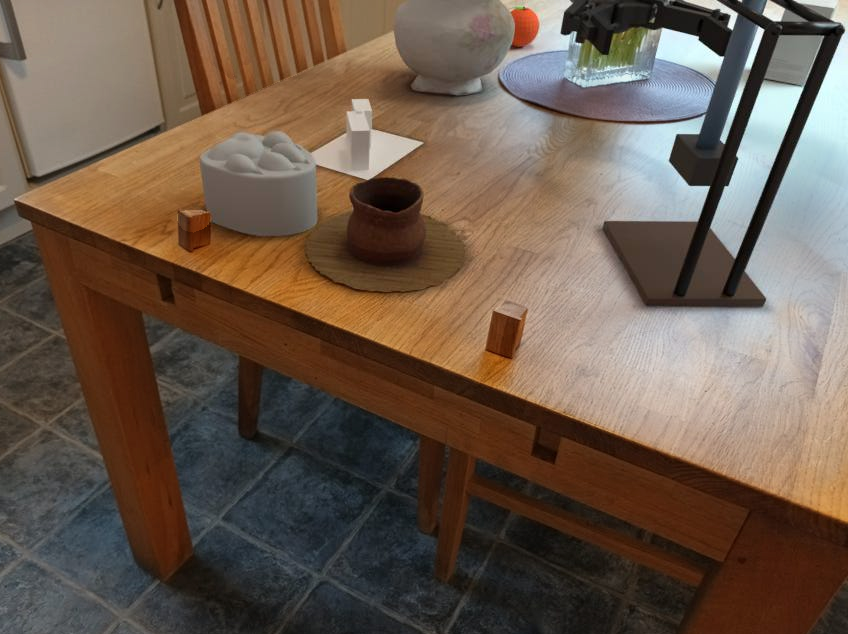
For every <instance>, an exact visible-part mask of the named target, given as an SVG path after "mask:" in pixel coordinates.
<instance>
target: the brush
mask: <svg viewBox="0 0 848 634" xmlns="http://www.w3.org/2000/svg"><path fill="white" fill-rule="evenodd" d="M741 2H742V3H743V4H745V5H747V6H749V7H750V8H752V9H754V10H755V11H757V12H759V13H761V14H762V15H764V11H765V9H766V7H767V6H766V5H767V3H768V0H741ZM759 28H760V27H759V26H757V25H756V24H754V23H753V22H751V21H749V20H748V19H746V18H744V17H743V16H741V15H740V14H738V13H737V15H736V18H735V22H734V25H733V27H732V30H733V31H732V34H731V37H730V40H729V43H728V46H727V49H726V52H725V56H724V57H723V59H722V62H721V65H720V68H719V72H718V75H717V78H716V81H715V84H714V87H713V90H712V93H711V96H710V100H709V102H708V106H707V109H706V112H705V115H704V118H703V121H702V124H701V128H700V131H699V133H676V135H675V139H674V141H673V144H672V148H671V151H670V154H669V158H668V163H669V164H671V166H672V167H673V168H674V170H675V171H676V172H677V173H678V174H679V176H680V177H681V178H682V180H684V182H685V183H686V184H687V185H688V187H710V185H711V182H712V179H713V176H714V173H715V171H716V168H717V165H718V162H719V159H720V156H721V153H722V150H723V147H724V145H725V142H723V141H722V140H721V138H722V135H723V132H724V129H725V126H726V123H727V120H728V117H729V114H730V111H731V109H732V106H733V103H734V100H735V97H736V94H737V91H738V88H739V85H740V83H741V79H742V76H743V73H744V70H745V67H746V64H747V62H748V59H749V56H750V53H751V49H752V48H753V44H754V41H755V39H756V36H757V32H758V29H759ZM738 161H739V156H737V155H736V157H735V160H734V163H733V166H732V168H731V171H730V174H729V177H728V180H727V182H726V185H725V187H729V186H730V183H731V180H732V178H733V175H734V172H735V169H736V166H737V164H738Z"/></svg>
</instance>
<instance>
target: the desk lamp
mask: <svg viewBox="0 0 848 634" xmlns="http://www.w3.org/2000/svg"><path fill="white" fill-rule="evenodd" d="M716 1H717V2H719V3H720V4H722V5H724V6H725V7H727V8H728V9H730V10H731V11H733V12H734V13H736V14H737V15H738V14H740V15H741V16H743V17H744V18H746V19H748V20H749V21H751V22H753V23H754V24H756V25H757V26H759V27H758V28H760V29H762V30H763V33H762V35H761V38H760V41H759V44H758V47H757V50H756V53H755V56H754V59H753V61H752V63H751V67H750V70H749V73H748V76H747V79H746V81H745V83H744V84H745V85H744V87H743V89H742V93H741V96H740V99H739V102H738V105H737V107H736V110H735V113H734V116H733V119H732V121H731V125H730V128H729V131H728V133H727V136H726V138H725V142H724V144H725V145H724V147H723V150H722V153H721V156H720V159H719V162H718V165H717V168H716V171H715V173H714V176H713V179H712V182H711V185H710V186H709V188H708V191H707V194H706V196H705V200H704V202H703V205H702V208H701V211H700V214H699V217H698V220H697V221H685V220H683V221H682V220H681V221H679V220H678V221H675V220H674V221H672V220H671V221H670V220H669V221H668V220H663V221H662V220H647V221H646V220H604V221H603V224H602V230H603V233H605V236H606V237H607V239H608V241H609V242H610V244H611V246H612V248H613V249H614V251H615V254H616V255H617V257H618V259H619V260H620V262H621V263H622V266H623V268H624V269H625V271H626V273H627V275H628V276H629V278H630V280H631V281H632V283H633V286H634V287H635V289H636V291H637V292H638V294H639V296H640V298H641V300H642V302H643V303H644V305H645V307H726V308H727V307H729V308H730V307H732V308H733V307H734V308H735V307H737V308H738V307H739V308H740V307H744V308H745V307H746V308H747V307H750V308H751V307H753V308H756V307H757V308H758V307H759V308H760V307H761V308H762V307H764V306H765V305H766V301H767V297H766V296H765V295H764V294H763V292H762V291H761V290H760V288H759V287H758V285H756V283H755V282H754V281H753V280H752V278H751V277H750V276H749V275H748V274H747V272H746V269H747V266H748V264H749V262H750V260H751V257H752V254H753V252H754V250H755V248H756V245H757V243H758V240H759V237H760V235H761V233H762V230H763V228H764V227H765V226H764V225H765V223H766V222H767V218H768V216H769V213H770V211H771V208H772V206H773V204H774V201H775V199H776V198H777V197H776V196H777V194H778V192H779V190H780V187H781V185H782V182H783V180H784V177H785V175H786V172H787V170H788V167H789V165H790V163H791V160H792V157H793V155H794V153H795V151H796V148H797V146H798V143H799V141H800V139H801V136H802V134H803V131H804V129H805V126H806V125H807V123H808V122H807V121H808V119H809V117H810V114H811V112H812V110H813V107H814V105H815V102H816V100H817V98H818V95H819V92H820V90H821V89H822V88H821V87H822V85H823V83H824V81H825V78H826V76H827V73H828V71H829V69H830V66H831V64H832V61H833V59H834V57H835V54H836V52H837V49H838V47H839V44H840V42H841V40H842V37H843V35H844V34H845V32H846V27H845V26H844V25H843V24H842V22H840V21H834V20H833V19H832V20H831V19H829V18H827V17H825V16H823V15H821V14H819V13H817V12H815V11H813V10H811V9H809V8H807V7H805V6H803V5H801V4H799V3H797V2H796V1H794V0H769V1H770V2H772V3H774V4H775V5H777V6H779V7H780V8H783V9H784V10H785V9H786V10H788V11H790V12H792V13H794V14H796V15H798V16H799V17H801V18H803V19H805V20H807V21H809V22H794V21H781V20H773V19H771V18H770V17H767V16H765V15H764V14H763V15H762V14H761V13H759V12H757V11H755V10H754V9H752V8H750V7H749V6H747V5H745V4H743V3H742V1H740V0H716ZM780 35H791V36H824V38H823V40H822V43H821V45H820V48H819V50H818V53H817V55H816V58H815V60H814V63H813V65H812V68H811V70H810V73H809V75H808V77H807V79H806V81H805V83H804V85H803V88H802V91H801V93H800V96H799V98H798V100H797V102H796V103H797V104H796V106H795V109H794V110H793V113H792V117H791V118H790V120H789V123H788V126H787V128H786V130H785V133H784V136H783V138H782V140H781V143H780V145H779V147H778V151H777V153H776V156H775V158H774V161H773V163H772V166H771V168H770V171H769V174H768V175H767V178H766V181H765V183H764V185H763V188H762V191H761V193H760V195H759V199H758V201H757V203H756V206H755V208H754V210H753V214H752V216H751V218H750V221H749V223H748V225H747V229H746V231H745V233H744V236H743V238H742V240H741V243H740V246H739V249H738V251H737V253H736V256H735V257H734V256H733V254H732V253H731V252H730V250H728V248H727V247H726V245H724V243H723V242H722V241H721V239H720V238H719V237H718V236H717V235H716V233H715V232H714V231H713V229H712V228H711V226H712V224H713V220H714V218H715V215H716V213H717V209H718V207H719V204H720V201H721V199H722V196H723V194H724V190H725V187H726V186H725V185H726V182H727V180H728V177H729V174H730V171H731V168H732V166H733V163H734V160H735V157H736V156H737V154H738V152H739V149H740V146H741V144H742V141H743V138H744V135H745V132H746V129H747V127H748V124H749V122H750V119H751V115H752V113H753V110H754V108H755V105H756V103H757V100H758V97H759V94H760V91H761V88H762V86H763V83H764V80H765V78H764V77H765V74H766V72H767V69H768V66H769V63H770V61H771V58H772V55H773V52H774V50H775V47H776V44H777V41H778V39H779V36H780Z"/></svg>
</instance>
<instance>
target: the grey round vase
mask: <svg viewBox="0 0 848 634" xmlns="http://www.w3.org/2000/svg"><path fill="white" fill-rule="evenodd" d="M510 12H511V11H510V8H508V7H507V6H506V4H504V2H503V1H502V0H405V1H404V2H403V3H401V4H400V5H399V6H398V8H397V10H396V12H395V17H394V22H393V35H394V42H395V47H396V49H397V51H398V54H399V56H400V59H401V60H402V61H403V63H404V64H405V65H406V67H407V68H408V69H410V70H411V71H412V72H414V73H415V74H417V76H416V78H415V79H414V80H413V81H412V83H411V84H410V87H411V89H412V90H413V91H416V92H421V93H423V92H424V93H440V94H447V95H452V96H467V95H471V94H475V93H480V92H482V89H483V87H482V82H481V79H480V77H484V76H487V75H489V74H490V73H492V72H494V70H496V69H497V68H498V67H499V66H500V65H501V64H502V62H504V59H505V58H506V56H507V55H508V53H509V51H510V49H511V46H512V45H511V44H512V41H513V37H514V31H515V23H514V19H513V17H512V15H511V13H510Z"/></svg>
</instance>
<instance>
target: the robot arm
mask: <svg viewBox="0 0 848 634" xmlns="http://www.w3.org/2000/svg"><path fill="white" fill-rule="evenodd" d="M569 1H570V3H571V4H570V5H569V6H568V7H567V8H566V9H565V10H564V11H563V15H562V16H563V17H562V21H561V26H560V33H559V34H560V35H561V36H570V35H571V34H572V33H573V32H575V40H574V42H575V44H585V43H586V41H588V42H590V44H591V45H592V46H593V47H594V48H595V49H596V50H597V51H598V53H600V55H601V56H609V55H610V50H611V46H612V41H613V36H614V35H617V34H622V33H626V32H628V31H629V30H631V29H632V28H635V29H639V28H642V29H643V28H644V29H647V30H651V31H657V30H660V29H664V30H665V29H666V30H669V31H673V32H678V33H682V34H685V35H690V36H694V37H698V39H697V41H699V42H700V43H701V44H703V45H704V46H705V47H707V48H708V49H709V50H710V51H711V52H713V53H714V54H715V55H717V56H718V57H720V58H721V57H723V58H724V56H725V52H726V49H727V46H728V43H729V40H730V37H731V34H732V31H733V29H731V28H730V27H729V23H730V20H731V17H732V15H731V14H729V13H728V12H722V9H721V8H715V9H712V8H709V7H705V6H702V5H698V4H695V3H692V2H689V1H685V0H569ZM652 20H653V22H652Z"/></svg>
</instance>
